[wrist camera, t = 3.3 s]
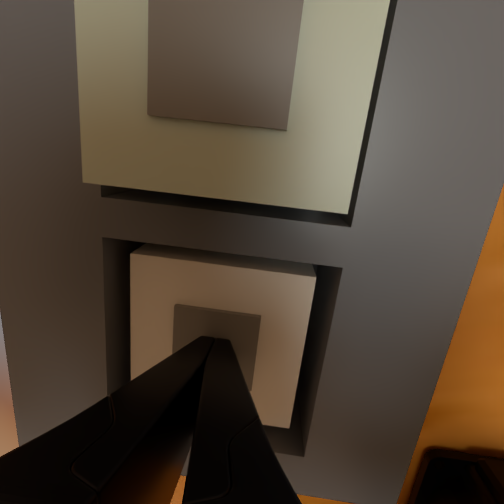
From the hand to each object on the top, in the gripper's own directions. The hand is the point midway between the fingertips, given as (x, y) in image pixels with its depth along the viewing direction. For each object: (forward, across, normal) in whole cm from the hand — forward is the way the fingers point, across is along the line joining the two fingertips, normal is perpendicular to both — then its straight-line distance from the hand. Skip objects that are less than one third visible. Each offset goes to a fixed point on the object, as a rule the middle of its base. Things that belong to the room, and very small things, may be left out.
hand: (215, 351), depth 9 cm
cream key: (+3, 0, 0) cm, 3 cm away
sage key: (+1, 0, -7) cm, 7 cm away
